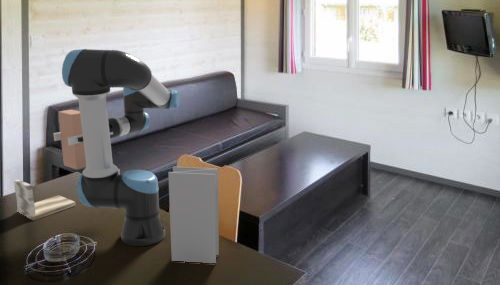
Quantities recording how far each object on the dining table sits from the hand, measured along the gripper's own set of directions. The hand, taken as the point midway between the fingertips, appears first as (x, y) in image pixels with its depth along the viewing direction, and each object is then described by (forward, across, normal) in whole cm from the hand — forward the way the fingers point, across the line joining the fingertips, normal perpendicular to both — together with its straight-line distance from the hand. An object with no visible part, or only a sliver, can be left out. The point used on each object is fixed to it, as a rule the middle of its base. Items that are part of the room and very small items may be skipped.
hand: (61, 139), depth 165 cm
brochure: (-11, -53, -33) cm, 63 cm away
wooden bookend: (-3, +20, -33) cm, 38 cm away
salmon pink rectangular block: (-5, 0, -11) cm, 12 cm away
